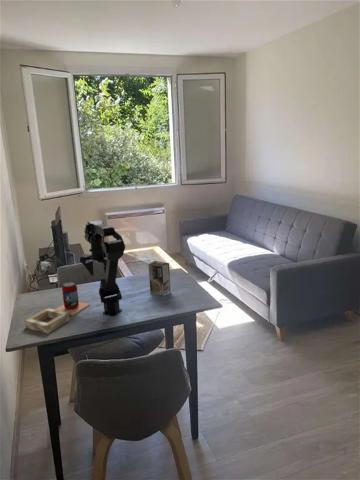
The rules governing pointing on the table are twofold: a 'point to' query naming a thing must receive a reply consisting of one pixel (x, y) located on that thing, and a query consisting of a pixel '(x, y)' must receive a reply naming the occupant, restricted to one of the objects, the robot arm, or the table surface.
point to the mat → (73, 311)
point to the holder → (57, 316)
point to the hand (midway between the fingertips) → (99, 276)
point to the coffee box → (159, 277)
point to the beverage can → (70, 295)
